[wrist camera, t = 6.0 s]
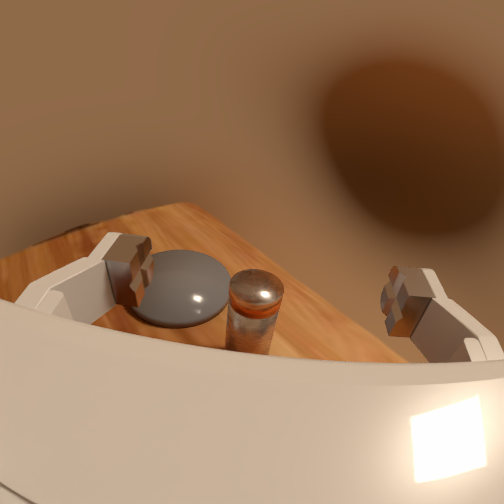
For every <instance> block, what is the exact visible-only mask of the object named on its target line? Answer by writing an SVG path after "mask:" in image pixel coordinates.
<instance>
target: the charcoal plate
mask: <svg viewBox="0 0 504 504" xmlns="http://www.w3.org/2000/svg"><path fill="white" fill-rule="evenodd" d="M151 256H152V258H153V259H154V274H153V278H152V281H151V283H150V285H149V286H147V287H146V288H144V291H145V295H144V297H143V299H142V301H141V303H140V305H139V307H132V306H130V308H131V309H132V310H133V312H134V313H135V314H136V315H138V316H139V317H140V318H142V319H143V320H145V321H147V322H149V323H151V324H154V325H157V326H161V327H167V328H187V327H193V326H196V325H200V324H203V323H205V322H207V321H209V320H211V319H213V318H214V317H216V316H217V315H218V314H220V313H221V312H222V311H223V309H224V308H225V307H226V305H227V304H228V302H229V301H228V295H229V284H230V280H231V278H230V275H229V273H228V271H227V270H226V268H225V267H224V266H223V265H222V264H221V263H220V262H219V261H217V260H216V259H214V258H212V257H210V256H208V255H206V254H203V253H200V252H196V251H190V250H169V251H163V252H159V253H156V254H153V255H151Z"/></svg>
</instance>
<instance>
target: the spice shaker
mask: <svg viewBox="0 0 504 504" xmlns="http://www.w3.org/2000/svg"><path fill="white" fill-rule="evenodd" d="M283 293H284V286H283V284H282V282H281V281H280V279H279V278H278V277H276V276H275V275H273V274H272V273H270V272H267V271H264V270H259V269H247V270H243V271H240V272H238V273H236V274H235V275H234V276H233V277H232V278H231V280H230V284H229V295H228V301H229V302H228V314H227V326H226V338H225V350H228V351H236V352H244V353H252V354H261V355H268V353H269V349H270V345H271V341H272V337H273V333H274V329H275V325H276V320H277V316H278V312H279V309H280V306H281V302H282V297H283Z"/></svg>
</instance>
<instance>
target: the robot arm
mask: <svg viewBox="0 0 504 504" xmlns="http://www.w3.org/2000/svg"><path fill="white" fill-rule="evenodd" d="M151 249H152V244H151V239H150V238H149V237H145V236H138V235H131V234H122V233H115V232H109V233H107V234H106V235H105V237H104V238H103V239H102V240H101V242H100V243H99V244H98V245H97V246H96V248H95V249H94V250H93V251H92V253H91V254H90V255H89V256H88V258H86V257H83V258H81V259H79V260H77V261H75V262H73V263H71V264H68V265H66V266H64V267H62V268H60V269H58V270H56V271H54V272H52V273H50V274H48V275H46V276H44V277H42V278H40V279H38V280H36V281H34V282H32V283H30V284H29V285H28V287H27V288H26V289H25V290H24V292H23V293H22V294H21V296H20V297H19V298H18V299H17V301H16V302H15V303H11V302H8V301H5V300H2V299H0V504H504V353H503V351H502V349H501V347H500V344H499V342H498V340H497V338H496V337H495V336H494V335H493V334H492V333H491V332H490V331H489V330H488V329H486V328H485V327H484V326H483V325H482V324H481V323H479V322H478V321H477V320H476V319H475V318H473V317H472V316H471V315H470V314H469V313H467V312H466V311H465V310H464V309H463V308H461V307H460V306H459V305H457V304H456V303H455V302H454V301H453V300H451V299H448V298H447V296H446V294H445V292H444V290H443V288H442V286H441V284H440V282H439V280H438V278H437V276H436V274H435V272H434V271H433V270H432V269H424V268H411V267H400V266H393V267H392V269H391V271H390V273H389V278H390V282H388V283H387V284H386V285H385V286H384V288H383V291H382V294H381V309H382V312H383V313H384V314H385V315H386V316H387V318H386V320H385V324H386V328H387V332H388V335H389V336H395V337H409V338H410V339H411V340H412V342H413V343H414V344H415V345H416V346H417V348H418V349H419V350H420V351H421V353H422V354H423V355H424V356H425V358H426V359H427V360H428V361H429V363H369V362H346V361H329V360H315V359H302V358H291V357H280V356H270V355H261V354H252V353H244V352H236V351H228V350H221V349H214V348H207V347H201V346H194V345H188V344H182V343H176V342H171V341H165V340H160V339H154V338H149V337H144V336H139V335H134V334H129V333H125V332H120V331H116V330H111V329H107V328H102V327H98V326H94V325H90V324H91V323H93V322H94V321H95V320H97V319H98V318H99V317H101V316H102V315H103V314H105V313H106V312H107V311H109V310H110V309H111V308H113V307H114V306H115V305H116V304H119V305H125V306H132V307H139V305H140V303H141V301H142V299H143V297H144V295H145V291H144V288H146V287H147V286H149V285H150V283H151V281H152V278H153V274H154V259H153V258H152V256H151V255H150V254H149V253H150V251H151Z"/></svg>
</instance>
